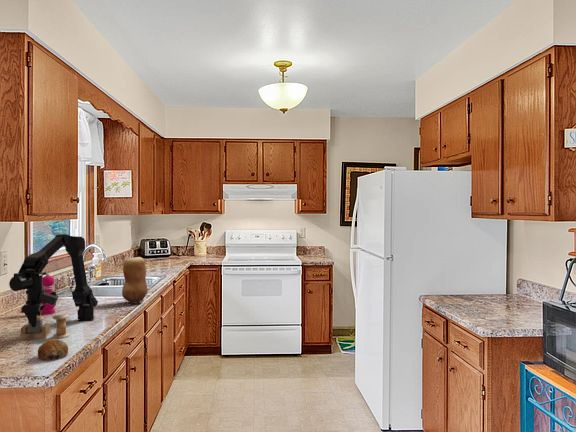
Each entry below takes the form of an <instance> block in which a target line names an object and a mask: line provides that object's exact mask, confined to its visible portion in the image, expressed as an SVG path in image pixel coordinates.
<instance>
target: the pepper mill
mask: <svg viewBox="0 0 576 432" xmlns="http://www.w3.org/2000/svg"><path fill="white" fill-rule="evenodd" d="M54 284H55V278H54V277H53V276H52V275H50V273H49V272H46V275H43V289H45V293H51V292H52V291H53V289H54ZM42 306H45V307H44V308H43V309H42V311H41V314H40V315H46V316H47V315H53V314H55V313H56V309H55V307H56V306H57V303H56V304H55V305H50V304H48V303H47V304H45V303H42Z"/></svg>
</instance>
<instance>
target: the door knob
mask: <svg viewBox="0 0 576 432" xmlns="http://www.w3.org/2000/svg"><path fill="white" fill-rule="evenodd" d="M69 318H70V315H69V314H65V313H61V314H60V313H59V314H55V315H53V316H52V320H55V327H56V329H55V331H56V332H55V333H54V334H53V335H52V339H65V338H68V337H70V333H69V332H67V319H69Z"/></svg>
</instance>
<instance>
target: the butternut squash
mask: <svg viewBox="0 0 576 432" xmlns="http://www.w3.org/2000/svg"><path fill="white" fill-rule="evenodd" d="M146 268H147V267H146V262H145V259H144V258H143V257H141V256H137V257H135V256H134V257H130V258H126V259H125V260H124V261H123V265H122V272H123V278H124V283H123V286H122V289H121V290H122V291H121V295H122V297H123V299H124V300H126V301H127V302H128V303H130V304H139V303H141V302H143V301H144V299H145V297H146V296H147V294H148V292H149V291H148V290H149V288H148V285H147V281H146V279H147V278H146V277H147V269H146Z"/></svg>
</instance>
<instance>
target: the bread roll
mask: <svg viewBox="0 0 576 432" xmlns="http://www.w3.org/2000/svg"><path fill="white" fill-rule="evenodd" d="M68 353H69V347H68V344H67V343H66V341H64V340H61V339H60V338H51V339H46V341H44V342H43V343H41V344H40V346H38V349H37V358H38V360H40V361H55V360H54V359H56V360H59V358H60V359H62V357H63V358H66V357H67V356H68V355H69V354H68Z"/></svg>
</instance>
